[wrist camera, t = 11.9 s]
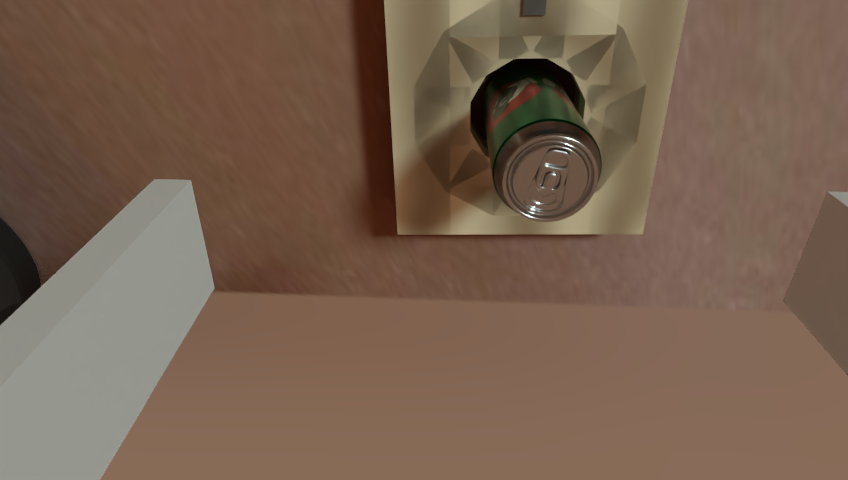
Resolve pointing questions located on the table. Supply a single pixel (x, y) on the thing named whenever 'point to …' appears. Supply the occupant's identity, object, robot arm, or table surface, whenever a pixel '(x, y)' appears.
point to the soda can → (538, 145)
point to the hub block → (496, 46)
